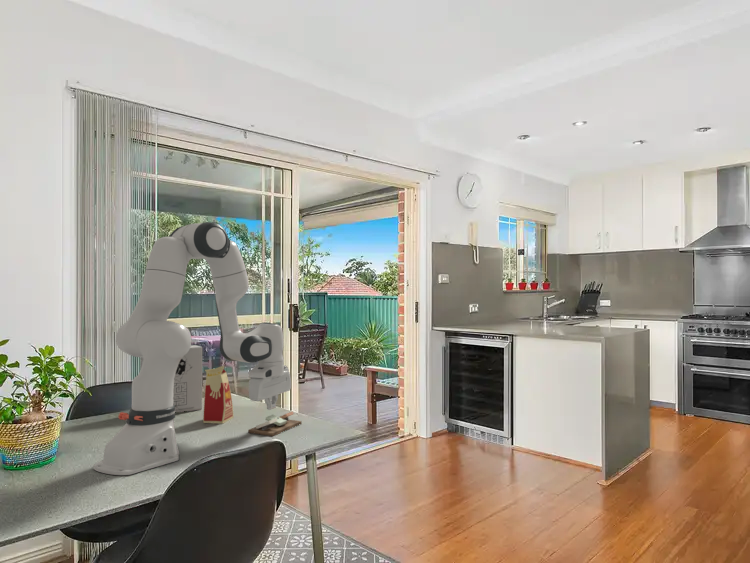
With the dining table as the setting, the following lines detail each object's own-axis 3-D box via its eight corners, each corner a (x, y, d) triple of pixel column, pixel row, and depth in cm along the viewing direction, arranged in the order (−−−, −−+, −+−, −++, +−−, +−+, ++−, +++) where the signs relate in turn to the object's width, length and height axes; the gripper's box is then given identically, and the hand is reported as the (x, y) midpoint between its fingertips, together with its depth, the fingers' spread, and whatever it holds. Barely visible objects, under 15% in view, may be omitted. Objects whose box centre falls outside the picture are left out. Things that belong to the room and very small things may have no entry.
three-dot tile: (287, 416, 181) (286, 413, 181) (274, 422, 183) (273, 419, 183) (293, 413, 184) (292, 411, 185) (281, 420, 187) (279, 417, 187)
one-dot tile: (270, 423, 172) (269, 420, 172) (256, 428, 174) (255, 425, 174) (277, 421, 175) (276, 417, 176) (263, 426, 178) (262, 422, 178)
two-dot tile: (279, 425, 176) (280, 422, 176) (265, 419, 179) (265, 416, 179) (286, 423, 180) (286, 420, 180) (272, 417, 182) (272, 414, 182)
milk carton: (233, 417, 194) (233, 363, 195) (224, 423, 185) (224, 367, 185) (210, 416, 195) (210, 363, 195) (199, 423, 186) (199, 367, 186)
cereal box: (196, 406, 213) (197, 345, 214) (202, 409, 207) (202, 346, 207) (139, 413, 201) (140, 348, 201) (143, 417, 195) (144, 350, 195)
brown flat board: (273, 436, 169) (273, 429, 169) (248, 432, 174) (248, 425, 174) (301, 423, 185) (301, 417, 185) (278, 421, 189) (278, 414, 189)
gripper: (280, 363, 191) (281, 401, 191) (245, 373, 173) (245, 414, 173) (295, 364, 189) (295, 403, 189) (260, 374, 170) (261, 416, 170)
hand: (271, 408), depth 181 cm, fingers closed
